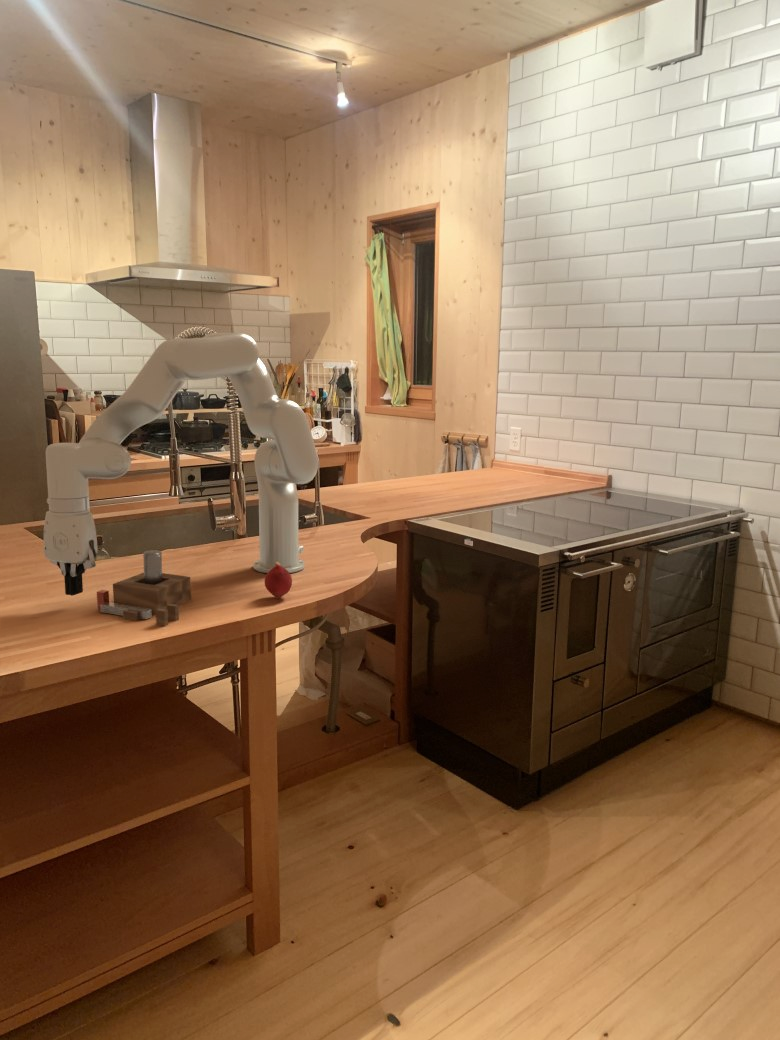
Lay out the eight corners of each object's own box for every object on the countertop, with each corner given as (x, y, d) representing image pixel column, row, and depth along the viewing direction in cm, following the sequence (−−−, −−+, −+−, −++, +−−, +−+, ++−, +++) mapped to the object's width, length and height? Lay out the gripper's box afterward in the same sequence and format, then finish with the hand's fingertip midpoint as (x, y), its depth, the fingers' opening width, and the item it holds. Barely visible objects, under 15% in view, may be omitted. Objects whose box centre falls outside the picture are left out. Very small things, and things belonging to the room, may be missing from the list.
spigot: (151, 594, 164) (150, 549, 161) (166, 597, 162) (165, 551, 160) (141, 599, 160) (139, 553, 158) (155, 602, 159) (154, 555, 157)
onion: (293, 594, 170) (293, 559, 168) (290, 602, 164) (290, 566, 162) (266, 594, 169) (266, 558, 168) (263, 602, 164) (262, 565, 162)
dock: (148, 593, 168) (147, 571, 167) (212, 602, 163) (212, 579, 162) (96, 614, 154) (94, 590, 153) (164, 626, 148) (163, 601, 147)
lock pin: (103, 608, 157) (102, 589, 156) (151, 616, 153) (150, 596, 152) (97, 611, 155) (96, 592, 154) (145, 619, 151) (144, 599, 150)
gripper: (25, 504, 153) (31, 593, 156) (85, 511, 148) (90, 603, 151) (54, 499, 160) (59, 584, 163) (112, 505, 155) (116, 593, 158)
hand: (74, 593), depth 157 cm, fingers closed
